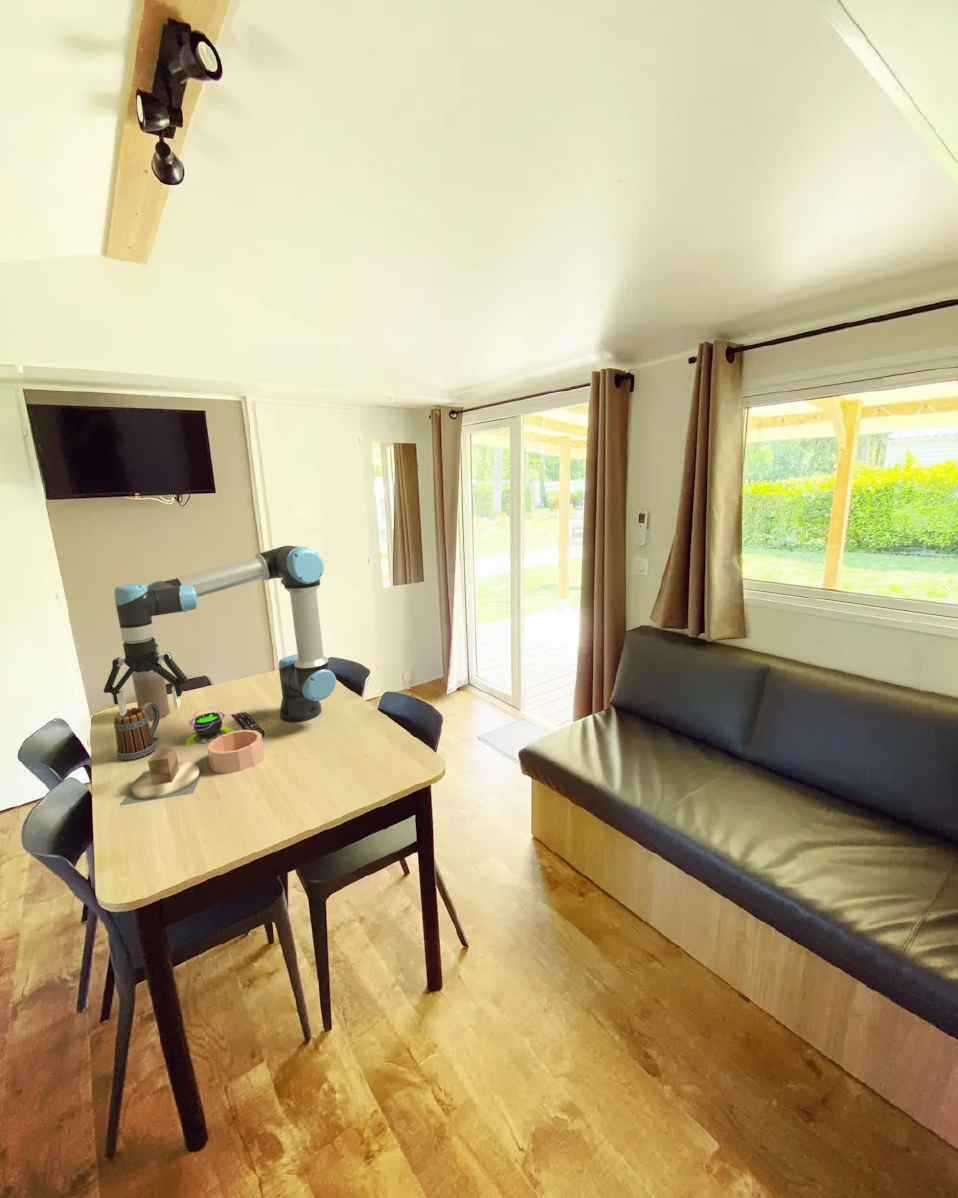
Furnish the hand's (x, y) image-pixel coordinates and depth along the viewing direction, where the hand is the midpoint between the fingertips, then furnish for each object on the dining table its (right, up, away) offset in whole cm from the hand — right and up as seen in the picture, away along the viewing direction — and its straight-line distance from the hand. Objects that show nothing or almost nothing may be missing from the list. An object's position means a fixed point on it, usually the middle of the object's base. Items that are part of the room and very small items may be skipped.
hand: (151, 710), depth 145 cm
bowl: (+18, -19, +14) cm, 30 cm away
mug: (-17, -19, +23) cm, 34 cm away
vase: (-31, -13, +51) cm, 61 cm away
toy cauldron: (+1, -17, +31) cm, 35 cm away
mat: (+3, -22, +3) cm, 23 cm away
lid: (+3, -22, +3) cm, 22 cm away
